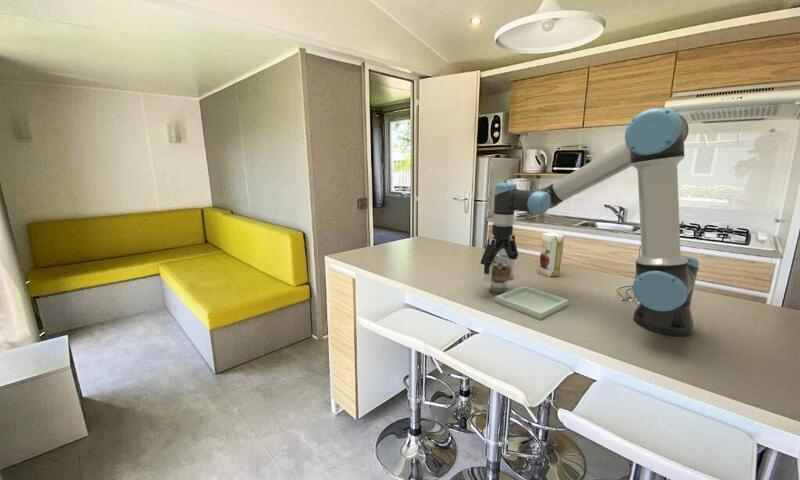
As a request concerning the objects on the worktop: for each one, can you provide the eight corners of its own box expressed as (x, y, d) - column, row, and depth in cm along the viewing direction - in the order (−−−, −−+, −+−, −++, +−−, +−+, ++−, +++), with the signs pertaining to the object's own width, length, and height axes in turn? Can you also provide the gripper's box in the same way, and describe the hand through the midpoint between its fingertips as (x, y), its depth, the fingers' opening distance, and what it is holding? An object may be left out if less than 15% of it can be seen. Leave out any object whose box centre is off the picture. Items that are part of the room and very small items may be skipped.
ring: (513, 278, 132) (514, 268, 132) (501, 283, 128) (501, 272, 127) (493, 272, 140) (493, 262, 139) (480, 276, 135) (481, 266, 134)
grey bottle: (508, 292, 134) (511, 263, 131) (499, 296, 130) (501, 266, 128) (496, 288, 139) (498, 260, 136) (486, 291, 135) (488, 262, 132)
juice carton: (549, 270, 161) (553, 231, 157) (562, 276, 153) (567, 235, 149) (536, 272, 159) (539, 232, 155) (549, 278, 151) (553, 236, 147)
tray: (568, 306, 122) (568, 300, 121) (540, 320, 111) (541, 313, 111) (523, 291, 136) (523, 285, 135) (495, 302, 125) (495, 296, 124)
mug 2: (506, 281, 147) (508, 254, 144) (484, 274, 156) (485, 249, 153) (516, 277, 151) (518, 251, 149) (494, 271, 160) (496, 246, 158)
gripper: (513, 219, 139) (509, 269, 144) (473, 226, 124) (469, 281, 129) (530, 222, 133) (525, 274, 138) (489, 230, 118) (485, 287, 123)
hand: (498, 277), depth 133 cm, fingers open, 13 cm apart
